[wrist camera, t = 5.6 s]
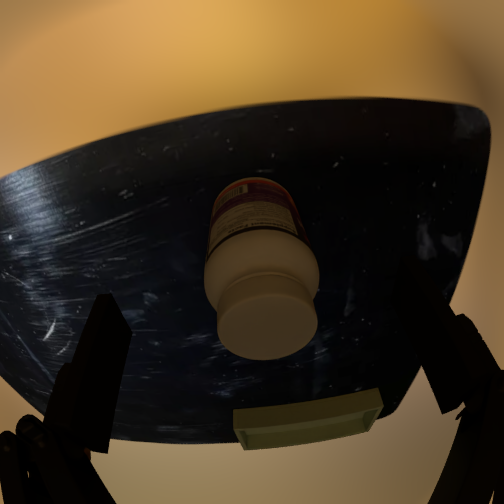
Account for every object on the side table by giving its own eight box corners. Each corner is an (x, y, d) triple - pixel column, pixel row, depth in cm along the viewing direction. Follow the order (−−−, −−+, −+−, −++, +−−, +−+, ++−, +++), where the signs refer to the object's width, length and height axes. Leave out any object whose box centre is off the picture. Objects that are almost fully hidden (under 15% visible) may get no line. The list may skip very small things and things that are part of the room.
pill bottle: (288, 250, 21) (316, 368, 14) (210, 246, 21) (200, 367, 13) (301, 178, 18) (352, 282, 10) (213, 171, 18) (196, 276, 10)
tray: (378, 387, 35) (383, 405, 33) (364, 415, 41) (368, 431, 38) (233, 409, 36) (233, 429, 33) (243, 433, 41) (243, 450, 39)
